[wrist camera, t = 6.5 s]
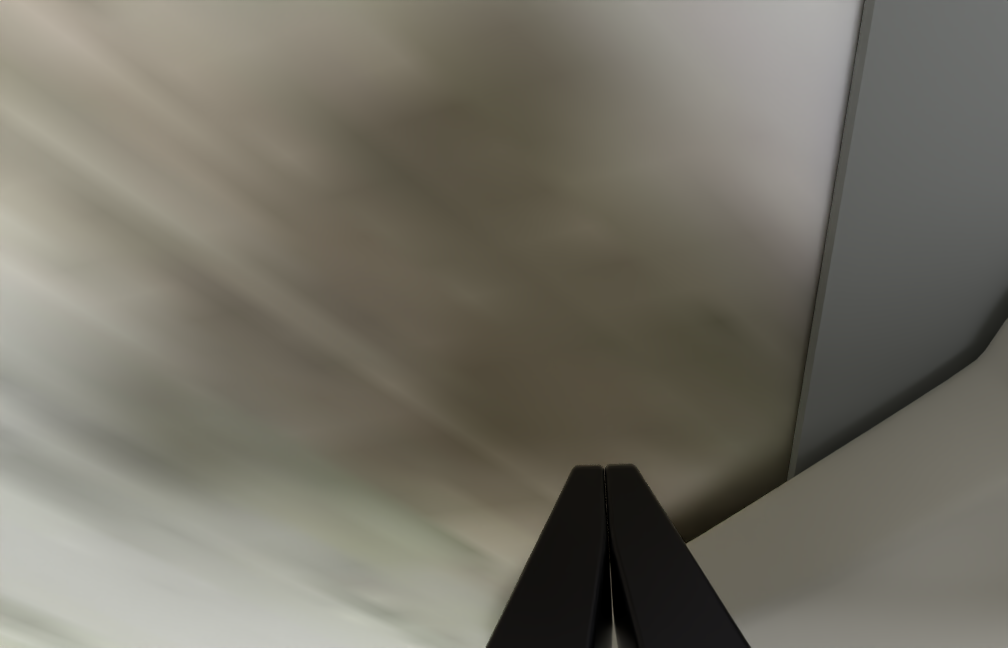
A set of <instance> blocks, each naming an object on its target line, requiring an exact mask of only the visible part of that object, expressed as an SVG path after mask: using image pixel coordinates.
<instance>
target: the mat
mask: <svg viewBox="0 0 1008 648" xmlns="http://www.w3.org/2000/svg"><path fill="white" fill-rule="evenodd" d="M1007 318H1008V0H865V3H864V9H863V15H862V21H861V28H860V34H859V40H858V46H857V52H856V58H855V64H854V71H853V77H852V83H851V89H850V95H849V101H848V108H847V114H846V120H845V126H844V132H843V138H842V145H841V151H840V157H839V163H838V169H837V175H836V181H835V188H834V194H833V200H832V206H831V212H830V218H829V225H828V231H827V237H826V243H825V249H824V255H823V262H822V268H821V274H820V280H819V286H818V292H817V298H816V305H815V311H814V317H813V323H812V329H811V335H810V342H809V348H808V354H807V360H806V366H805V372H804V379H803V385H802V391H801V397H800V403H799V409H798V415H797V422H796V428H795V434H794V440H793V446H792V452H791V459H790V465H789V471H788V477H787V481H789V480H790V479H792V478H793V477H795V476H797V475H798V474H800V473H801V472H803V471H805V470H806V469H808V468H809V467H811V466H812V465H814V464H816V463H817V462H819V461H820V460H822V459H824V458H825V457H827V456H828V455H830V454H832V453H833V452H835V451H836V450H838V449H839V448H841V447H843V446H844V445H846V444H847V443H849V442H851V441H852V440H854V439H855V438H857V437H858V436H860V435H862V434H863V433H865V432H866V431H868V430H870V429H871V428H873V427H874V426H876V425H877V424H879V423H881V422H882V421H884V420H885V419H887V418H888V417H890V416H892V415H893V414H895V413H896V412H898V411H899V410H901V409H903V408H904V407H906V406H907V405H909V404H910V403H912V402H913V401H915V400H917V399H918V398H920V397H921V396H923V395H924V394H926V393H927V392H929V391H931V390H932V389H934V388H935V387H937V386H938V385H940V384H942V383H943V382H945V381H946V380H948V379H949V378H951V377H952V376H953V375H955V374H956V373H958V372H959V371H961V370H962V369H964V368H965V367H967V366H968V365H969V364H971V363H972V362H974V361H975V360H977V359H978V358H979V357H980V355H981V354H982V353H983V352H984V351H985V350H986V348H987V347H988V345H989V344H990V342H991V341H992V339H993V338H994V337H995V335H996V334H997V332H998V331H999V329H1000V328H1001V326H1002V325H1003V323H1004V322H1005V321H1006V319H1007Z"/></svg>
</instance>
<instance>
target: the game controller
mask: <svg viewBox="0 0 1008 648" xmlns="http://www.w3.org/2000/svg"><path fill="white" fill-rule="evenodd" d="M686 546H687V547H688V549H689V550H690V552H691V553H692V555H693V557H694V558H695V560H696V561H697V563H698V565H699V566H700V568H701V569H702V571H703V572H704V574H705V576H706V577H707V579H708V580H709V582H710V583H711V585H712V587H713V588H714V590H715V591H716V593H717V594H718V596H719V598H720V599H721V601H722V602H723V604H724V606H725V607H726V609H727V610H728V612H729V613H730V615H731V617H732V618H733V620H734V621H735V623H736V624H737V626H738V628H739V629H740V631H741V632H742V634H743V636H744V637H745V639H746V640H747V642H748V643H749V645H750V647H751V648H1008V318H1007V319H1006V321H1005V322H1004V323H1003V325H1002V326H1001V328H1000V329H999V331H998V332H997V334H996V335H995V337H994V338H993V339H992V341H991V342H990V344H989V345H988V347H987V348H986V350H985V351H984V352H983V353H982V354H981V355H980V357H979V358H978V359H977V360H975V361H974V362H972V363H971V364H969V365H968V366H967V367H965V368H964V369H962V370H961V371H959V372H958V373H956V374H955V375H953V376H952V377H951V378H949V379H948V380H946V381H945V382H943V383H942V384H940V385H938V386H937V387H935V388H934V389H932V390H931V391H929V392H927V393H926V394H924V395H923V396H921V397H920V398H918V399H917V400H915V401H913V402H912V403H910V404H909V405H907V406H906V407H904V408H903V409H901V410H899V411H898V412H896V413H895V414H893V415H892V416H890V417H888V418H887V419H885V420H884V421H882V422H881V423H879V424H877V425H876V426H874V427H873V428H871V429H870V430H868V431H866V432H865V433H863V434H862V435H860V436H858V437H857V438H855V439H854V440H852V441H851V442H849V443H847V444H846V445H844V446H843V447H841V448H839V449H838V450H836V451H835V452H833V453H832V454H830V455H828V456H827V457H825V458H824V459H822V460H820V461H819V462H817V463H816V464H814V465H812V466H811V467H809V468H808V469H806V470H805V471H803V472H801V473H800V474H798V475H797V476H795V477H793V478H792V479H790V480H789V481H787V482H785V483H784V484H782V485H781V486H779V487H777V488H776V489H774V490H773V491H771V492H769V493H768V494H766V495H765V496H763V497H761V498H760V499H758V500H757V501H755V502H753V503H752V504H750V505H749V506H747V507H745V508H744V509H742V510H741V511H739V512H737V513H736V514H734V515H733V516H731V517H729V518H728V519H726V520H724V521H723V522H721V523H719V524H718V525H716V526H715V527H713V528H711V529H710V530H708V531H706V532H705V533H703V534H702V535H700V536H698V537H697V538H695V539H693V540H692V541H690V542H688V543H686ZM610 577H611V571H610ZM611 594H612V588H611ZM612 617H613V605H612ZM612 648H618V646H617V640H616V633H615V627H614V617H613V633H612Z"/></svg>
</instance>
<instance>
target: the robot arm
mask: <svg viewBox="0 0 1008 648" xmlns="http://www.w3.org/2000/svg"><path fill="white" fill-rule="evenodd" d="M605 486H606V491H605ZM606 504H607V508H606ZM607 521H608V524H607ZM608 538H609V541H608ZM609 554H610V559H609ZM610 571H611V577H610ZM611 588H612V594H611ZM612 605H613V617H614V627H615V633H616V640H617V646H618V648H751V647H750V645H749V643H748V642H747V640H746V639H745V637H744V636H743V634H742V632H741V631H740V629H739V628H738V626H737V624H736V623H735V621H734V620H733V618H732V617H731V615H730V613H729V612H728V610H727V609H726V607H725V606H724V604H723V602H722V601H721V599H720V598H719V596H718V594H717V593H716V591H715V590H714V588H713V587H712V585H711V583H710V582H709V580H708V579H707V577H706V576H705V574H704V572H703V571H702V569H701V568H700V566H699V565H698V563H697V561H696V560H695V558H694V557H693V555H692V553H691V552H690V550H689V549H688V547H687V546H686V544H685V542H684V541H683V539H682V538H681V536H680V535H679V533H678V531H677V530H676V528H675V527H674V525H673V523H672V522H671V520H670V519H669V517H668V516H667V514H666V512H665V511H664V509H663V508H662V506H661V505H660V503H659V501H658V500H657V498H656V497H655V495H654V494H653V492H652V490H651V489H650V487H649V486H648V484H647V482H646V481H645V479H644V478H643V476H642V475H641V473H640V471H639V470H638V468H637V467H636V466H635V465H633V464H609V465H607V466H606V467H605V475H604V468H603V466H601V465H577V466H575V467H574V468H573V469H572V471H571V473H570V475H569V477H568V479H567V481H566V483H565V485H564V487H563V489H562V491H561V493H560V495H559V497H558V499H557V501H556V503H555V506H554V508H553V510H552V512H551V514H550V516H549V518H548V520H547V522H546V524H545V526H544V528H543V530H542V532H541V534H540V536H539V538H538V541H537V543H536V545H535V547H534V549H533V551H532V553H531V555H530V557H529V559H528V561H527V563H526V565H525V567H524V569H523V571H522V574H521V576H520V578H519V580H518V582H517V584H516V586H515V588H514V590H513V592H512V594H511V596H510V598H509V600H508V602H507V604H506V607H505V609H504V611H503V613H502V615H501V617H500V619H499V621H498V623H497V625H496V627H495V629H494V631H493V633H492V635H491V637H490V639H489V642H488V644H487V646H486V648H612V633H613V617H612Z"/></svg>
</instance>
